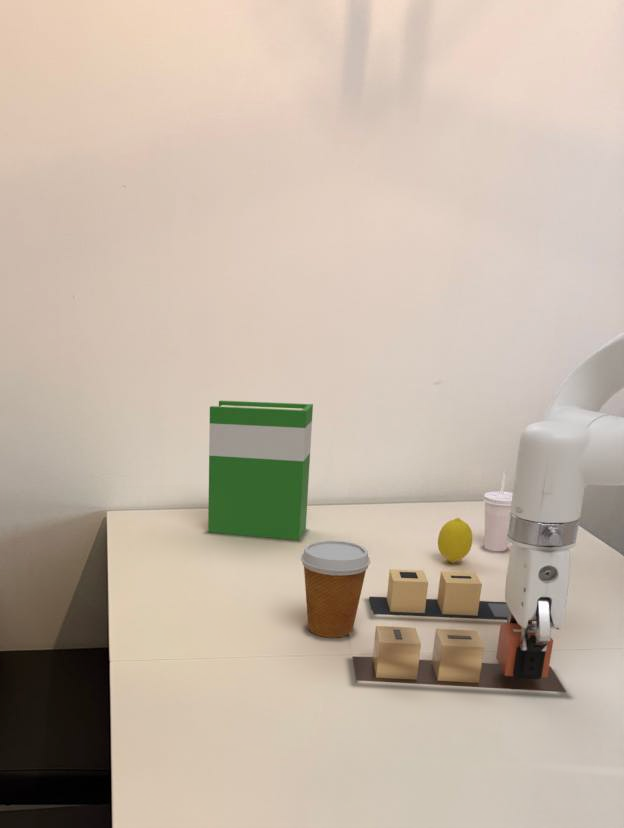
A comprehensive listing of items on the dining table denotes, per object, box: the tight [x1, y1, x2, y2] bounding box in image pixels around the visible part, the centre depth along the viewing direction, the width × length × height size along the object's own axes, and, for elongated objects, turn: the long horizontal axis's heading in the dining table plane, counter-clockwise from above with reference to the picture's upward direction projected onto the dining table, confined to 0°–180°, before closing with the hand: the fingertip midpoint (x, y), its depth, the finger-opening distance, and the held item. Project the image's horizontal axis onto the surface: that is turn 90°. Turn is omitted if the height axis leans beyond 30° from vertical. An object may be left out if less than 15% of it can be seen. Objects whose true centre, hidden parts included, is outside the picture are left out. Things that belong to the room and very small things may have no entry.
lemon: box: [437, 517, 473, 564], centre depth 148 cm, size 6×6×8 cm
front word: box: [352, 625, 567, 693], centre depth 110 cm, size 25×7×6 cm, turn 81°
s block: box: [495, 622, 554, 677], centre depth 108 cm, size 5×5×5 cm
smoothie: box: [482, 470, 513, 552], centre depth 154 cm, size 6×6×14 cm
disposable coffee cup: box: [300, 540, 371, 639], centre depth 122 cm, size 10×10×12 cm
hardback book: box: [207, 400, 314, 541], centre depth 164 cm, size 18×7×24 cm, turn 71°
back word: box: [368, 568, 536, 622], centre depth 129 cm, size 25×7×6 cm, turn 81°
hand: (521, 665), depth 109 cm, fingers closed on s block, 5 cm apart
